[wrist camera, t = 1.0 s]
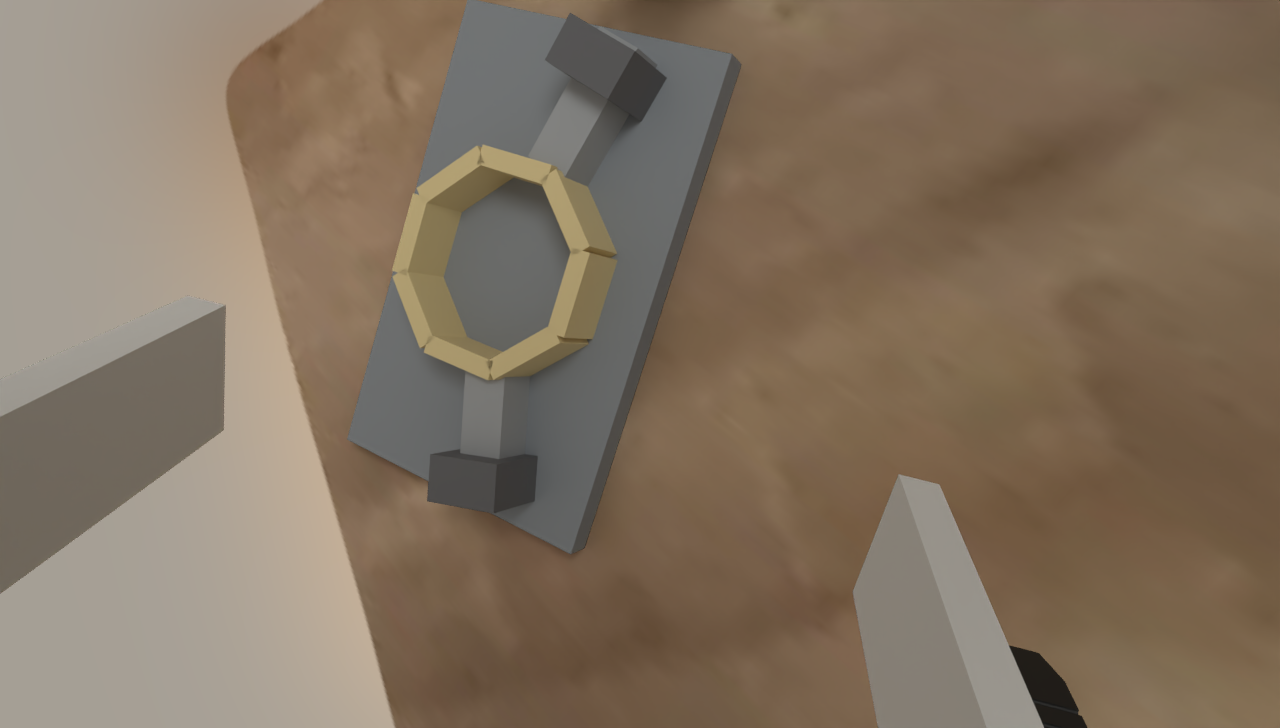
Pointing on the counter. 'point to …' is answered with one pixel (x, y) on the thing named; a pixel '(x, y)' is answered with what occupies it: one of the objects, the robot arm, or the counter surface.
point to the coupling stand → (538, 262)
